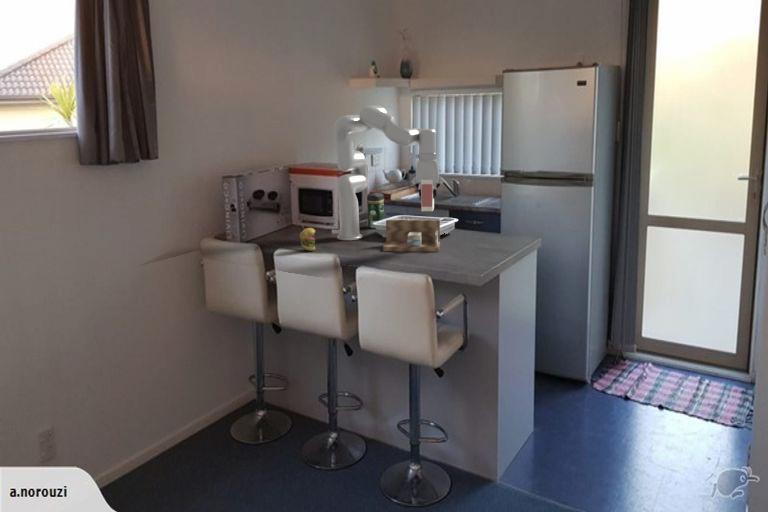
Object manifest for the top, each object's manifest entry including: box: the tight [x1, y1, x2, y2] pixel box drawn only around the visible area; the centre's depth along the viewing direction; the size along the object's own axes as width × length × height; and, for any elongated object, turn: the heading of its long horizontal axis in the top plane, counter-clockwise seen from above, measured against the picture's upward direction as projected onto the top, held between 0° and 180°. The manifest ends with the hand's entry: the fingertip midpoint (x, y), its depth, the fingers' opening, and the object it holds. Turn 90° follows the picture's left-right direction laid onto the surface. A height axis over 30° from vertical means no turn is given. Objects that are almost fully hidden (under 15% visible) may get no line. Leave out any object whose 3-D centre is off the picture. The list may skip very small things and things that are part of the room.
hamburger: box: [299, 225, 316, 252], centre depth 296 cm, size 8×7×12 cm
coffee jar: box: [366, 192, 385, 230], centre depth 346 cm, size 10×8×19 cm
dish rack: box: [372, 214, 459, 238], centre depth 325 cm, size 32×37×8 cm
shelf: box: [382, 220, 441, 253], centre depth 297 cm, size 25×13×12 cm, turn 82°
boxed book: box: [420, 179, 435, 212], centre depth 291 cm, size 5×9×14 cm, turn 172°
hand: (427, 197), depth 291 cm, fingers closed on boxed book, 5 cm apart
